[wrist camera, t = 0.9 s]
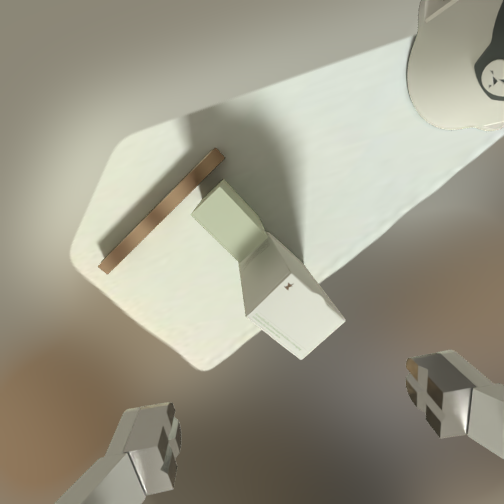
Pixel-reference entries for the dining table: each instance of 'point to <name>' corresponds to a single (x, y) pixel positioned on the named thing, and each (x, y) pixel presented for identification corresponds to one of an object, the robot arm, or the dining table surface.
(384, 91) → the dining table surface
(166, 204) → the rail
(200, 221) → the sage tea box
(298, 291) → the skincare box
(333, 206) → the dining table surface
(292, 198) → the dining table surface
